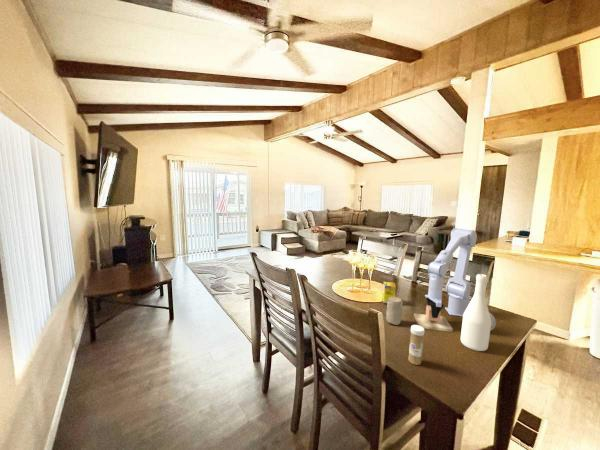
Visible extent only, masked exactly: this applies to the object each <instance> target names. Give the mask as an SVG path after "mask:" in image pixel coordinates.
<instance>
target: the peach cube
mask: <svg viewBox="0 0 600 450" xmlns="http://www.w3.org/2000/svg"><path fill="white" fill-rule="evenodd" d="M441 313H442V310H441V311H440V312H439V315H438V317H437V318H432V312H431V306H428V304H426V307H425V315H426V317H427V319H428V320H433V321H440V316H442V314H441Z"/></svg>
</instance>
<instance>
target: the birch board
mask: <svg viewBox="0 0 600 450" xmlns="http://www.w3.org/2000/svg"><path fill="white" fill-rule="evenodd" d="M413 316H414V319H415V321H416V323H417V324H416V325H419V326H421V327H423V328H424V330H425V329H426V330H433V331H444V332H452V333H453V332H454V329H453V327H452V326H451V324H450V323H449V322H448V320H447V319H446V317H445V316H442V315H440V321H433V320H428V319H427V317H426V314H422V313H413Z"/></svg>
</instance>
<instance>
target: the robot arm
mask: <svg viewBox="0 0 600 450" xmlns="http://www.w3.org/2000/svg"><path fill="white" fill-rule="evenodd" d="M477 238H478V234H477V232H476V230H475V229H474V230H472V229H466V228H465V229H464V228H458V227H454V228H453V229H452V230H451V232H450V240H449V242H448V243H447V246H446V248H445V249H443V250H441V251H439V253H438V255H437V256H436V258H435V259H434V261H431V262H430V263H428V266H427V272H428V277H429V278H428V279H429V280H428V281H429V282H428V293H427V294H424V297H425V298H426V299H425V300H426V302H427V305H428V306H431V312H432V318H437V317H438V315H439V312H440V311H441V312H442V310H443V308H444V309H445V310H446V312H447V313H448V314H449V315H450V316H459V317H463V314H464V312H465V310H466V308H467V307H468V305H469V303H470V301H471V298H470V296H471V286H472V285H471V283H470V282H469V281H468V280H467V273H468V267H469V262H470V258H471V253H472V252H471V251H472V248H475V247H476V243H477ZM458 248H459V250H458ZM456 250H458V255H457V261H456V264H455V265H456V266H455V271H454V275H453V277H451V278H450V277H449V278H448V280H447V283H446V285H445V291H446V293H447V296H448V301H447V302H448V304H447V305H448V306H445V307H444V304H443V302H442V300H443V288H444V287H443V284H444V276H446V274H447V273H448V268H449V264H450V263H451V261H452V260H453V259H454V253H455V252H456Z"/></svg>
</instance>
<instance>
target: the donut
mask: <svg viewBox="0 0 600 450" xmlns="http://www.w3.org/2000/svg"><path fill="white" fill-rule="evenodd" d="M489 314H490V318H491V328H490V332H491V331H492V330H494V329H495V327H496V326H497V319H496V318H495V316H494V315H493V314H492V313H491V312H489Z"/></svg>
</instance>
